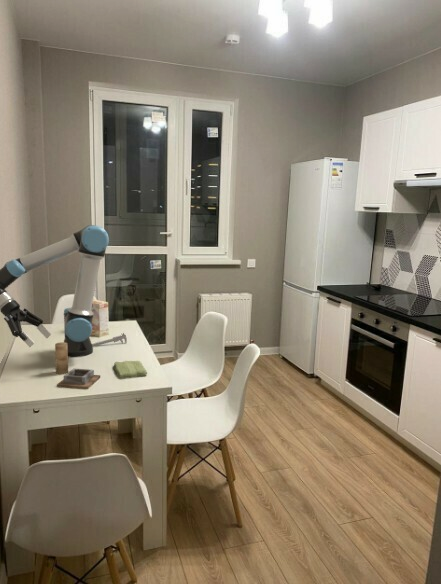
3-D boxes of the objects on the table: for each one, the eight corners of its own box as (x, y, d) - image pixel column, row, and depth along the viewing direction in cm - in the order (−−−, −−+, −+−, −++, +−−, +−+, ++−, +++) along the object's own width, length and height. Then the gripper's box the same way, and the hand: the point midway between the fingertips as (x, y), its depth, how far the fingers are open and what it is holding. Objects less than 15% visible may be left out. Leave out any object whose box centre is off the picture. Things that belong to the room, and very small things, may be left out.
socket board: (71, 375, 187) (71, 366, 186) (100, 377, 185) (100, 368, 185) (56, 386, 174) (56, 377, 173) (87, 389, 173) (87, 379, 172)
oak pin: (59, 370, 193) (58, 342, 190) (70, 370, 192) (69, 342, 190) (54, 374, 188) (52, 345, 185) (64, 374, 187) (64, 346, 185)
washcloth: (140, 364, 205) (140, 357, 204) (148, 377, 189) (148, 370, 188) (112, 366, 200) (112, 360, 199) (117, 380, 184) (117, 373, 183)
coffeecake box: (82, 332, 254) (81, 300, 251) (92, 330, 260) (91, 298, 256) (99, 337, 246) (98, 303, 242) (109, 334, 252) (108, 301, 248)
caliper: (126, 343, 236) (126, 332, 235) (126, 344, 235) (126, 332, 234) (87, 347, 228) (87, 335, 227) (87, 347, 227) (87, 336, 226)
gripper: (18, 305, 200) (50, 338, 201) (-18, 316, 176) (18, 354, 177) (28, 294, 199) (60, 328, 199) (-6, 304, 174) (30, 343, 175)
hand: (41, 340), depth 188 cm, fingers open, 13 cm apart
